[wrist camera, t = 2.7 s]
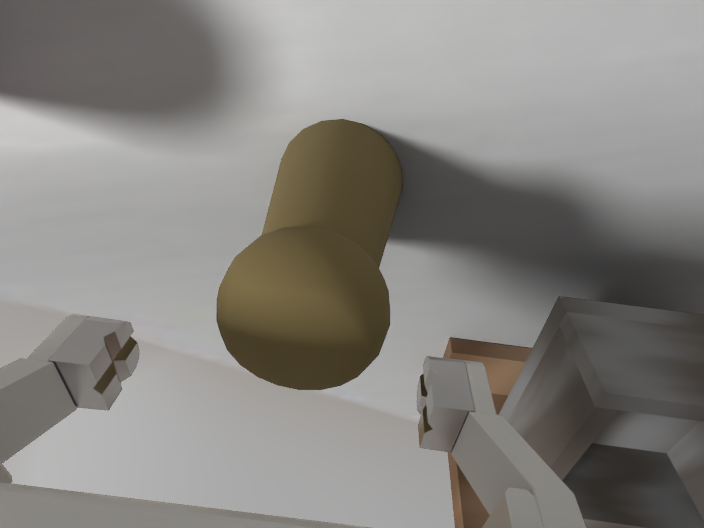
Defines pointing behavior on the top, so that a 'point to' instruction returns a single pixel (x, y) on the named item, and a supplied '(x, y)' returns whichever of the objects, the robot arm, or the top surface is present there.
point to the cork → (316, 262)
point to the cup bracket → (604, 411)
